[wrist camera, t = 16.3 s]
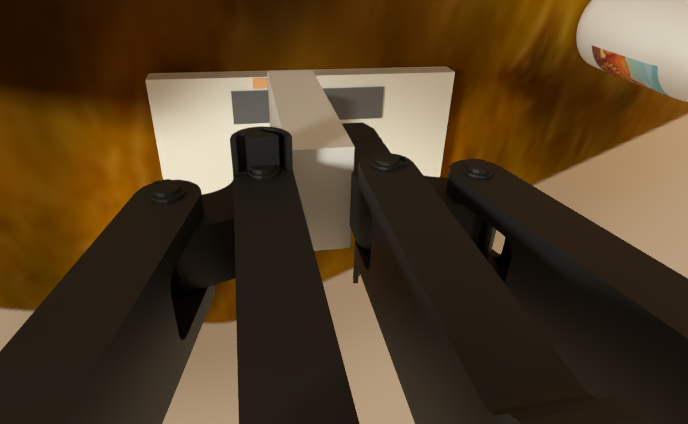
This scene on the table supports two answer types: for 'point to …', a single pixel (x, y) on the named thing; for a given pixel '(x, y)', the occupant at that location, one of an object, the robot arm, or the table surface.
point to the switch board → (253, 111)
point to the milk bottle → (638, 42)
